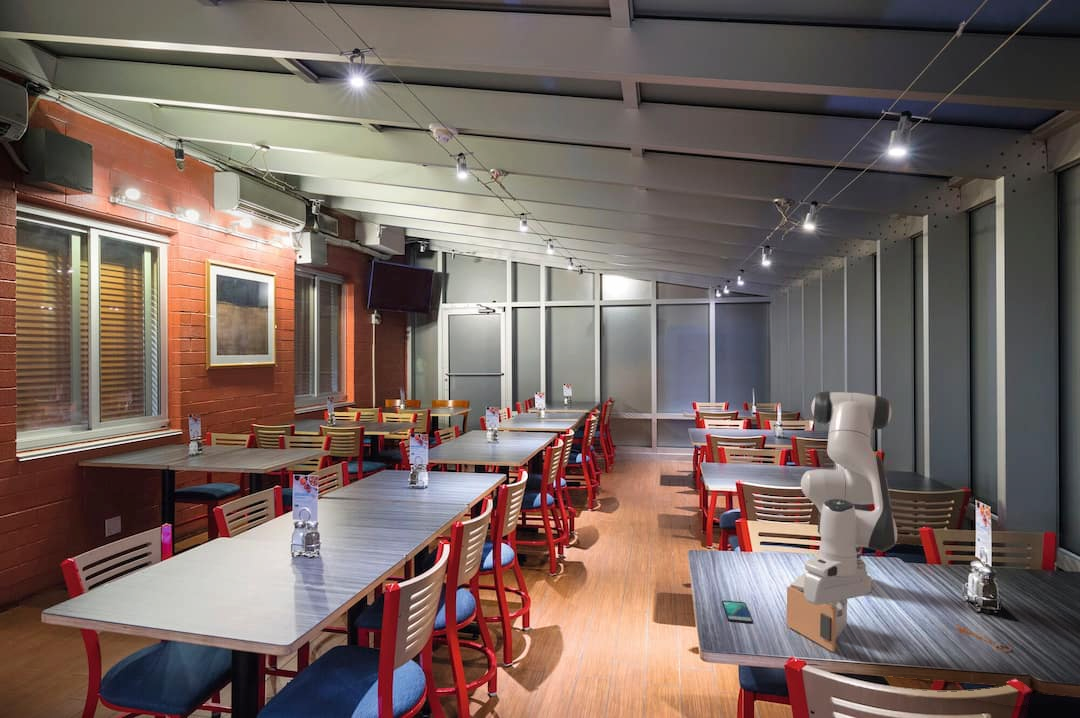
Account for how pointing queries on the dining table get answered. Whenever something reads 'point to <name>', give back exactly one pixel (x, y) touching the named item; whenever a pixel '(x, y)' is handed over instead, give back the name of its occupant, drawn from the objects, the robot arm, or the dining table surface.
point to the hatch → (811, 619)
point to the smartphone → (737, 612)
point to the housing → (841, 620)
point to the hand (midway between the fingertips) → (836, 615)
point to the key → (982, 639)
